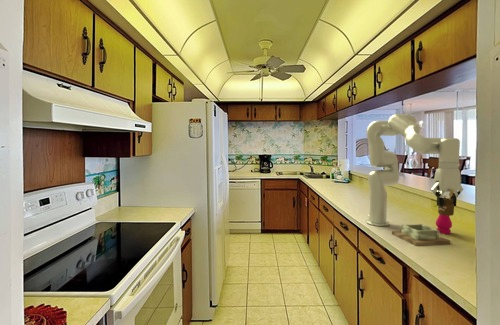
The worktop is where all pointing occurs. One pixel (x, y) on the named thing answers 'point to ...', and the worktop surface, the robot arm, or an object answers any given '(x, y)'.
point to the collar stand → (420, 235)
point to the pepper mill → (444, 223)
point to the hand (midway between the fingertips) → (446, 205)
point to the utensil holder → (447, 206)
